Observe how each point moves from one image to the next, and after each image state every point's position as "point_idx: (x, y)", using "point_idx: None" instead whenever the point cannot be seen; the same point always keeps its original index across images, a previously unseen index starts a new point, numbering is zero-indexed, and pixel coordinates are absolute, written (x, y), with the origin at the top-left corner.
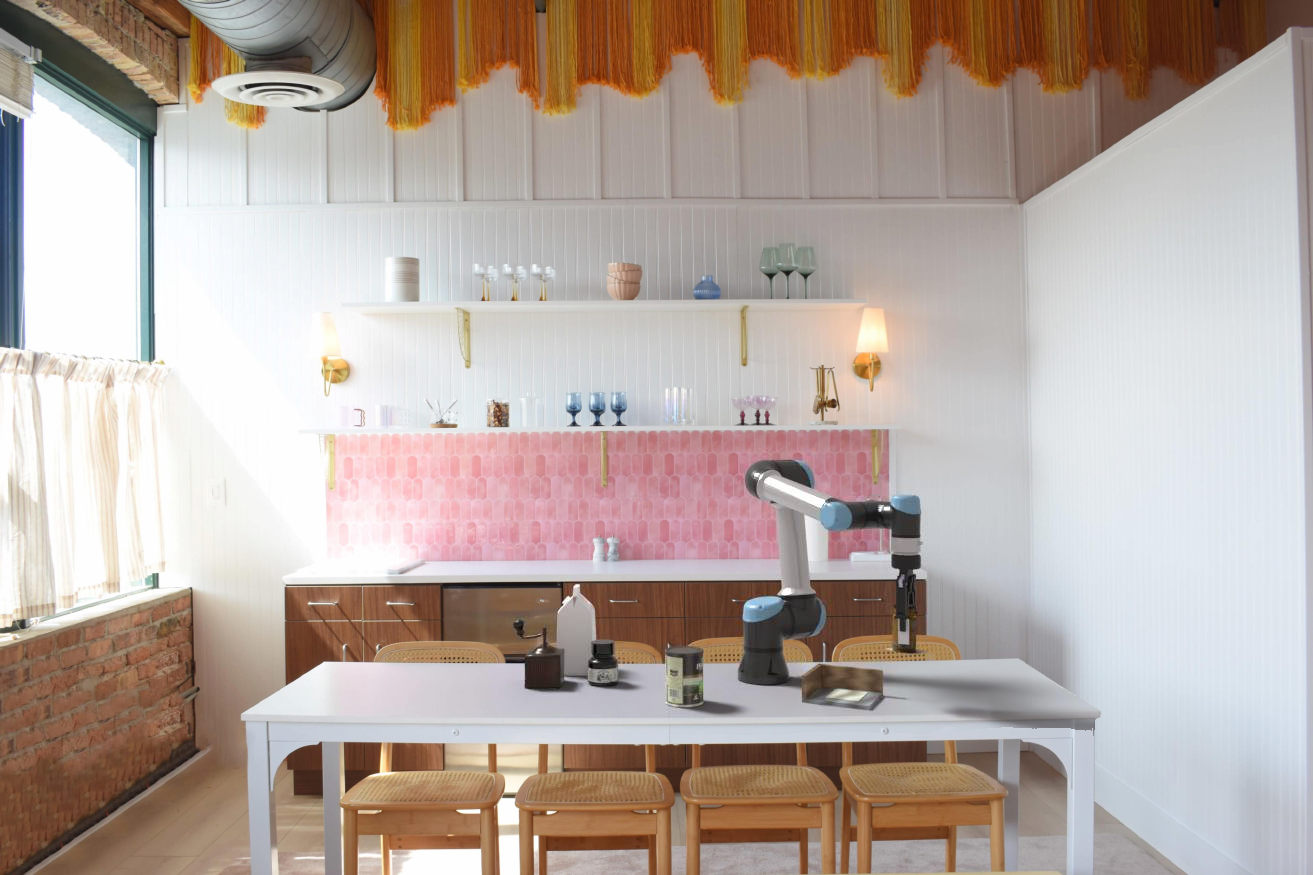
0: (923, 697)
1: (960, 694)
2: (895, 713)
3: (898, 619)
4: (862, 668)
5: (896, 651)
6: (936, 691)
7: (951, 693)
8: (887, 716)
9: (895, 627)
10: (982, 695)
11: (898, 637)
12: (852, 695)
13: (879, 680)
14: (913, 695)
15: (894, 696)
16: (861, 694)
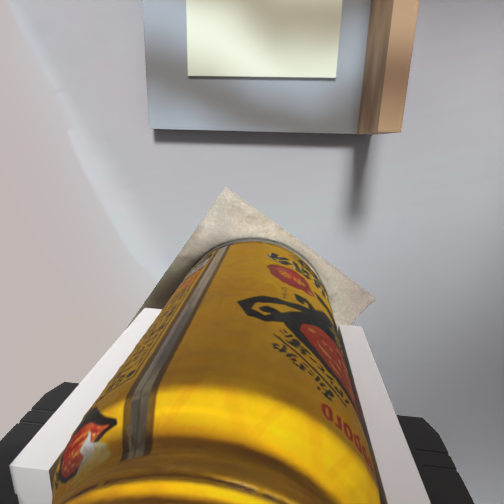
0: (392, 271)
1: (471, 371)
2: (157, 216)
3: (18, 460)
4: (401, 14)
5: (181, 271)
6: (494, 301)
7: (477, 346)
8: (112, 199)
9: (137, 346)
10: (475, 426)
11: (127, 333)
12: (261, 27)
13: (367, 120)
14: (411, 237)
15: (374, 176)
16: (292, 60)
